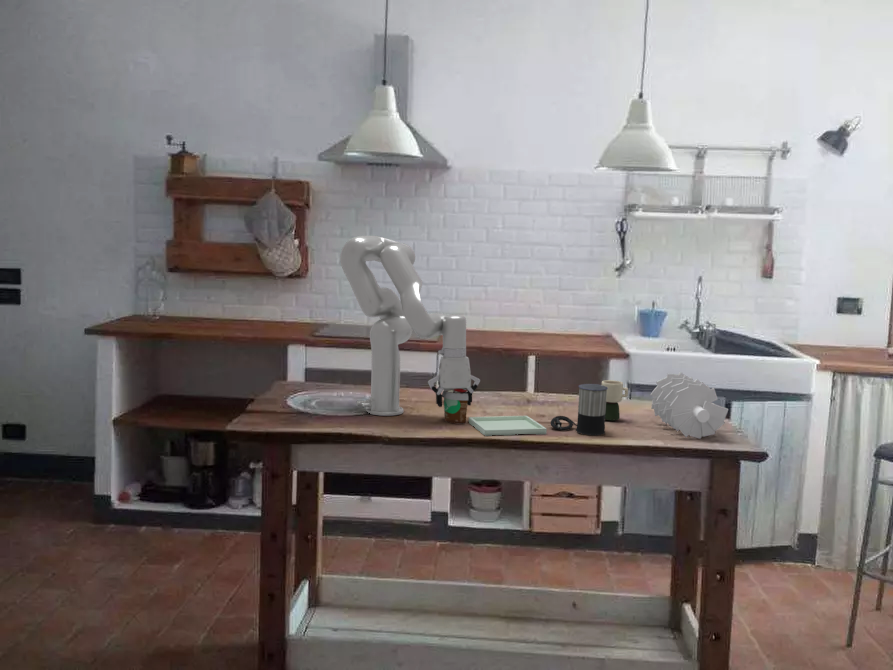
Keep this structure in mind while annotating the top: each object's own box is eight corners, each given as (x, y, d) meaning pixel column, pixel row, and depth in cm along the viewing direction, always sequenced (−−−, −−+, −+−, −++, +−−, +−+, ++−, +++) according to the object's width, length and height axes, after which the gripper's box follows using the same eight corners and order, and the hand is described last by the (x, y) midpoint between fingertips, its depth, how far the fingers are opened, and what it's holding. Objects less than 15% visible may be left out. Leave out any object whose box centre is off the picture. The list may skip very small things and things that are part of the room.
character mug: (623, 418, 320) (625, 380, 318) (628, 422, 313) (631, 384, 311) (591, 417, 319) (594, 379, 317) (596, 422, 312) (598, 383, 310)
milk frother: (610, 435, 294) (613, 389, 292) (563, 437, 290) (566, 390, 288) (591, 425, 308) (593, 380, 306) (546, 426, 303) (548, 381, 301)
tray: (485, 436, 288) (485, 430, 287) (468, 422, 305) (468, 417, 305) (546, 434, 293) (546, 428, 293) (526, 420, 310) (526, 415, 310)
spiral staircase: (686, 453, 292) (657, 430, 316) (737, 429, 292) (704, 408, 317) (666, 401, 287) (638, 382, 312) (718, 377, 288) (686, 360, 313)
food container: (435, 417, 311) (436, 387, 309) (452, 416, 313) (453, 386, 312) (449, 425, 300) (451, 394, 298) (467, 424, 302) (468, 394, 301)
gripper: (431, 355, 297) (431, 409, 300) (483, 353, 302) (483, 406, 304) (425, 352, 305) (425, 404, 307) (476, 350, 309) (476, 402, 311)
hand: (454, 405), depth 305 cm, fingers open, 9 cm apart
